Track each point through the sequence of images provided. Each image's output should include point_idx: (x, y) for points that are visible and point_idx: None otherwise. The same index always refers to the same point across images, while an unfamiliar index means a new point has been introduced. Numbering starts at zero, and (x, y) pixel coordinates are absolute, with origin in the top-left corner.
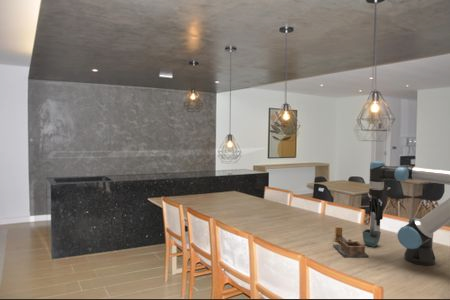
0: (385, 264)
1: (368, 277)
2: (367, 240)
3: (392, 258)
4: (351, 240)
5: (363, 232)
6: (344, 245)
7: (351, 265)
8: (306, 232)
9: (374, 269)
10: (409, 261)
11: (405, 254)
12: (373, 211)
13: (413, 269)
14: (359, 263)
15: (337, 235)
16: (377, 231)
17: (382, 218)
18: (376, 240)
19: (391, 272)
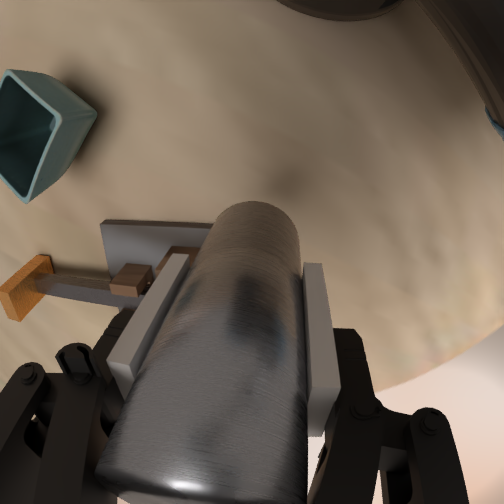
0: (393, 188)
1: (476, 326)
2: (69, 159)
3: (300, 84)
4: (126, 286)
5: (31, 198)
6: None
7: (372, 344)
8: (8, 331)
9: (434, 276)
10: (362, 19)
11: (319, 7)
12: (113, 490)
13: (464, 83)
14: (359, 308)
15: (39, 291)
16: (301, 275)
17: (447, 423)
18: (85, 110)
19: (476, 220)
